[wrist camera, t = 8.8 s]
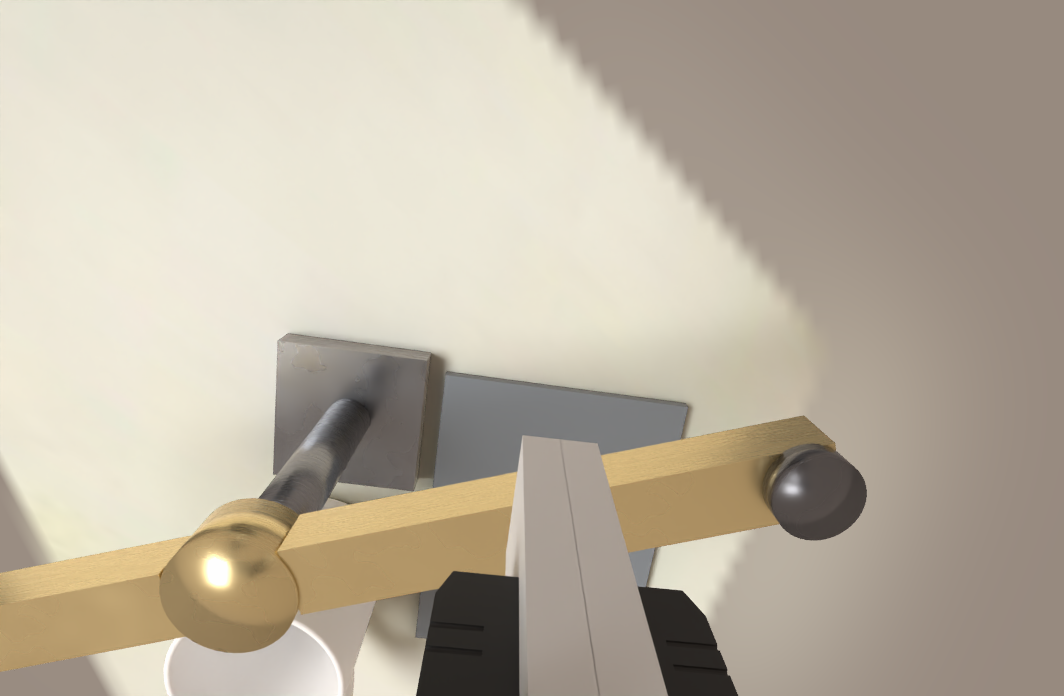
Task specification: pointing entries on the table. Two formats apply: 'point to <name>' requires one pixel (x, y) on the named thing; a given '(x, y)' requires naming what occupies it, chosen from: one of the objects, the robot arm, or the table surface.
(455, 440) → the felt mat
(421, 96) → the table surface
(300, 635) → the mug
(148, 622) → the lever
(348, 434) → the lever post
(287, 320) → the table surface
